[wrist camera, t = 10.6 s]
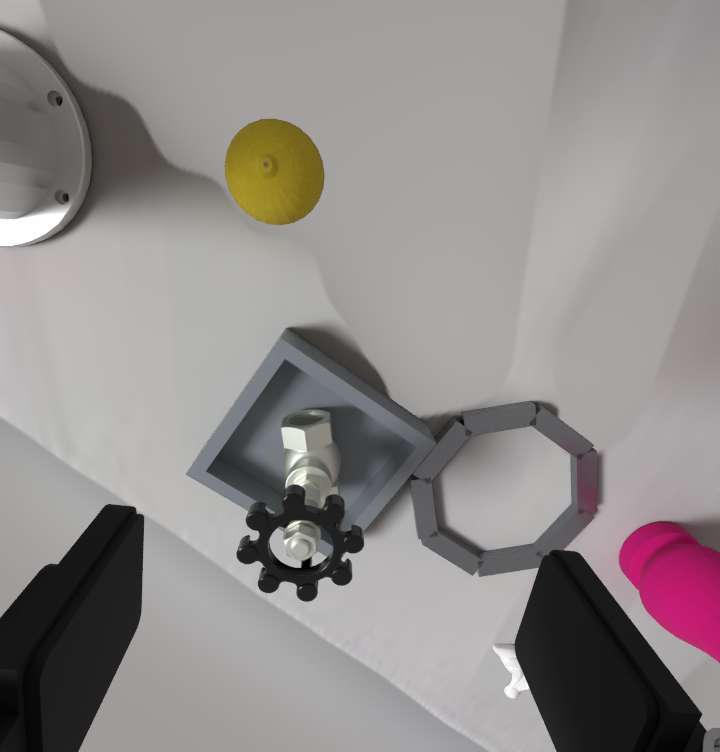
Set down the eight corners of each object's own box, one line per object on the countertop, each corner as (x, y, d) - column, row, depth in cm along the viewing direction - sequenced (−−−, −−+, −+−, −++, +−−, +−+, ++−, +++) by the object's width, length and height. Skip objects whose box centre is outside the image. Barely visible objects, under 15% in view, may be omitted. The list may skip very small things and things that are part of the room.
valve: (276, 490, 37) (246, 608, 25) (263, 411, 35) (225, 500, 23) (360, 482, 37) (369, 595, 25) (352, 403, 35) (358, 487, 23)
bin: (200, 452, 36) (185, 474, 33) (286, 327, 34) (280, 338, 30) (337, 534, 39) (337, 562, 35) (427, 424, 36) (436, 444, 33)
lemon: (312, 237, 32) (303, 238, 24) (232, 209, 31) (197, 202, 24) (337, 152, 30) (335, 125, 23) (253, 121, 30) (222, 83, 22)
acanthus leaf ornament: (490, 638, 44) (496, 655, 42) (562, 621, 43) (572, 637, 41) (504, 697, 46) (510, 716, 44) (573, 681, 45) (583, 699, 44)
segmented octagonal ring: (376, 509, 38) (376, 516, 37) (492, 369, 35) (496, 373, 34) (509, 592, 41) (513, 600, 40) (627, 469, 38) (634, 475, 37)
